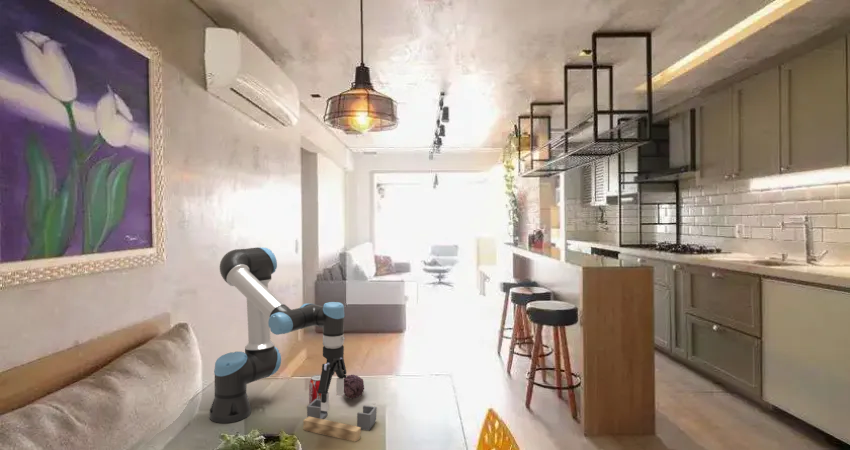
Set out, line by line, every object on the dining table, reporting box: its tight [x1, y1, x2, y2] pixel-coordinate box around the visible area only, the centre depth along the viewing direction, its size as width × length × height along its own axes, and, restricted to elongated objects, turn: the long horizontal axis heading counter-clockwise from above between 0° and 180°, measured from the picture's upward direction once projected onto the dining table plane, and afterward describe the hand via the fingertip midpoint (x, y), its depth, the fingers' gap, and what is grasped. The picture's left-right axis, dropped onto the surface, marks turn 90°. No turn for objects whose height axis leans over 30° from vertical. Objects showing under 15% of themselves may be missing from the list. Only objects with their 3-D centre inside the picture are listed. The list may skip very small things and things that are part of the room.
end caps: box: [306, 399, 377, 431], centre depth 185 cm, size 26×7×6 cm, turn 77°
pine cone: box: [344, 374, 365, 399], centre depth 207 cm, size 18×10×10 cm, turn 179°
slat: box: [302, 416, 362, 442], centre depth 176 cm, size 22×4×4 cm, turn 70°
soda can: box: [308, 374, 321, 405], centre depth 198 cm, size 7×7×12 cm
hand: (332, 402), depth 175 cm, fingers open, 13 cm apart
